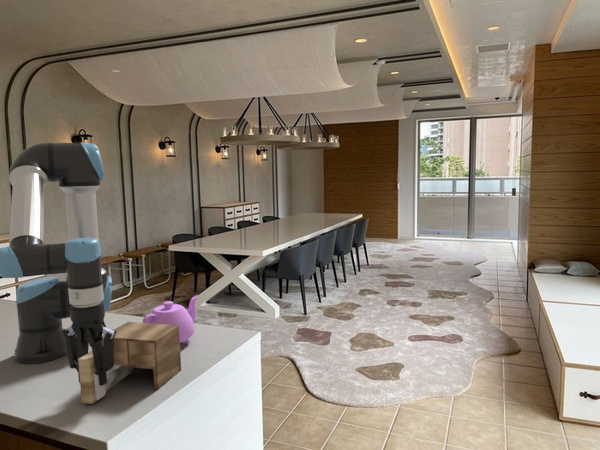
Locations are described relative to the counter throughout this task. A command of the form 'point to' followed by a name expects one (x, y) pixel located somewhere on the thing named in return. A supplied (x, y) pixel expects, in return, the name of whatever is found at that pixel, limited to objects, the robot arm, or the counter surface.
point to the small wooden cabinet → (149, 349)
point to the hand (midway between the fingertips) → (94, 396)
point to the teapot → (175, 318)
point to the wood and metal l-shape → (87, 377)
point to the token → (113, 369)
